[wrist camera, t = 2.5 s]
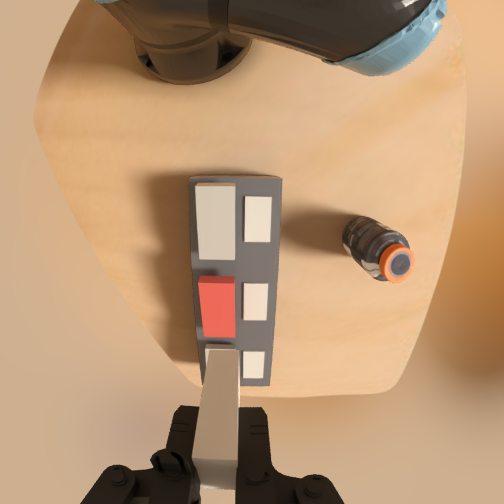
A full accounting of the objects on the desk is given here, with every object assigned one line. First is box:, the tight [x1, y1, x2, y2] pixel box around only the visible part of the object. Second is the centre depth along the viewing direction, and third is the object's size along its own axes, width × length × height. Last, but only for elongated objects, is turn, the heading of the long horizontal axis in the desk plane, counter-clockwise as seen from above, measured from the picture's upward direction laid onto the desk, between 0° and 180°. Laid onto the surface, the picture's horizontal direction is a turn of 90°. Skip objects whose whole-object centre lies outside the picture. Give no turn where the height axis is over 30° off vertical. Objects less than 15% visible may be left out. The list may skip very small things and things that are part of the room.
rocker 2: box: [205, 344, 236, 366], centre depth 35 cm, size 8×4×1 cm, turn 179°
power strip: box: [189, 175, 282, 386], centre depth 36 cm, size 29×10×6 cm, turn 179°
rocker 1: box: [195, 183, 235, 260], centre depth 29 cm, size 8×4×1 cm, turn 179°
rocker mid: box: [198, 276, 236, 338], centre depth 32 cm, size 8×4×1 cm, turn 179°
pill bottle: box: [342, 217, 415, 283], centre depth 31 cm, size 6×6×11 cm
